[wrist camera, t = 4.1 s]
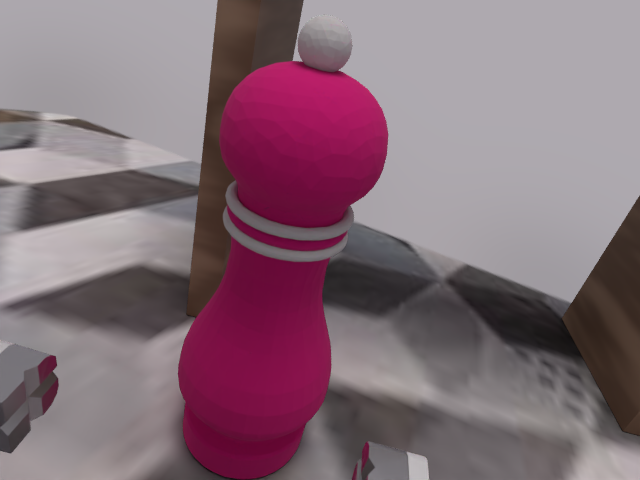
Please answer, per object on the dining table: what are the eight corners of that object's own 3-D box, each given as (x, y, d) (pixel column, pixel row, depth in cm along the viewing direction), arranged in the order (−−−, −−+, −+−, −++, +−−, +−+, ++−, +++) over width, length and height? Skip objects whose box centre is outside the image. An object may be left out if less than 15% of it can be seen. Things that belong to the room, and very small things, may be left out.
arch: (186, 314, 30) (248, -310, 16) (238, 232, 41) (303, -189, 27) (652, 438, 30) (1131, -84, 16) (583, 324, 40) (834, -52, 26)
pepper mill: (235, 353, 28) (297, -1, 18) (333, 417, 26) (466, 47, 16) (140, 432, 22) (160, -25, 13) (256, 524, 20) (391, 44, 10)
